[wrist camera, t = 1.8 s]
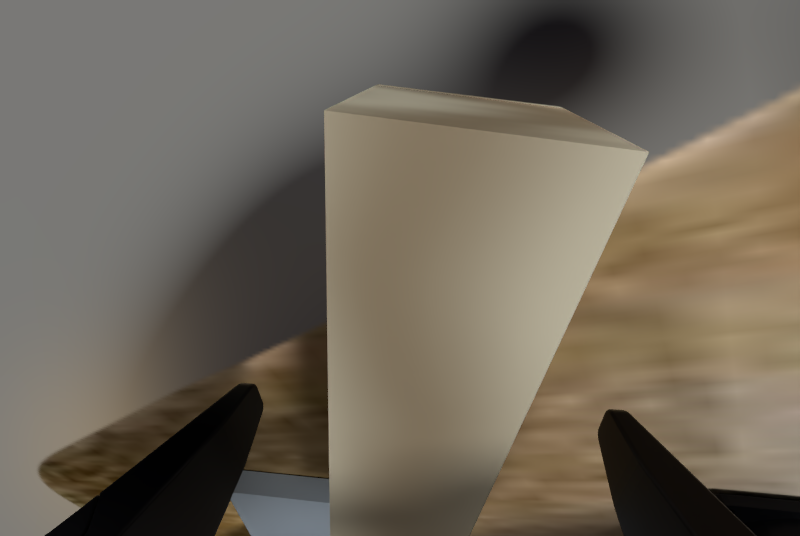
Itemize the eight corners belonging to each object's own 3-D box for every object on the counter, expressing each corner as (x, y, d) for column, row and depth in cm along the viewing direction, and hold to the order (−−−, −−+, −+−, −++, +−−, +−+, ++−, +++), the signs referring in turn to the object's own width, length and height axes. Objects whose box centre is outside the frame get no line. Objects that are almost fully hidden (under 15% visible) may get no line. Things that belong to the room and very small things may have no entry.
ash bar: (560, 106, 8) (648, 151, 4) (448, 461, 15) (448, 580, 12) (378, 84, 8) (324, 110, 4) (356, 445, 15) (330, 558, 12)
